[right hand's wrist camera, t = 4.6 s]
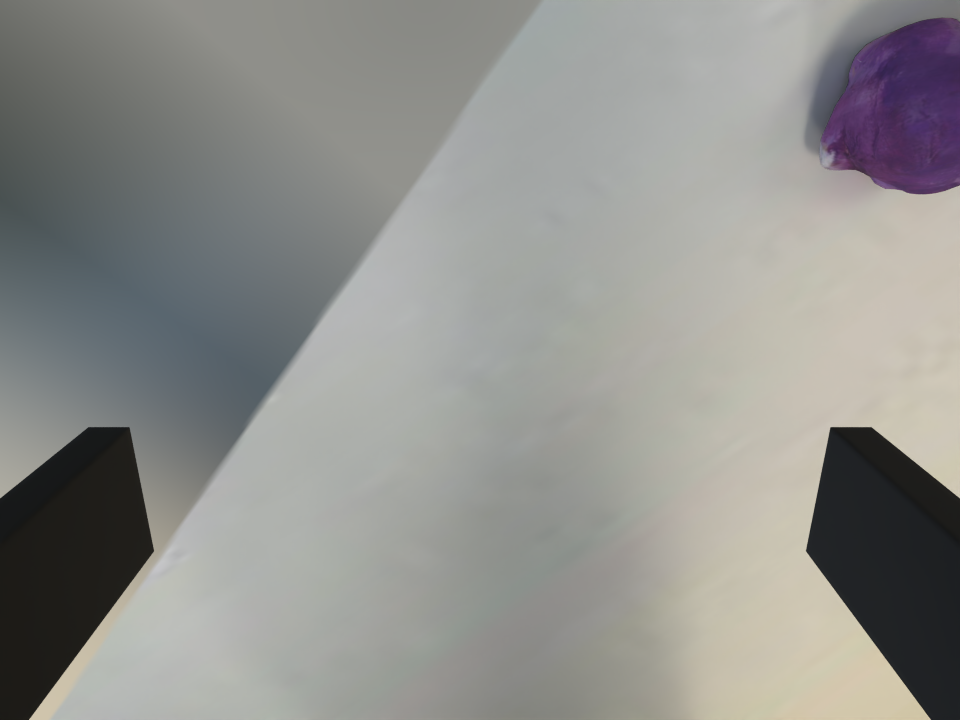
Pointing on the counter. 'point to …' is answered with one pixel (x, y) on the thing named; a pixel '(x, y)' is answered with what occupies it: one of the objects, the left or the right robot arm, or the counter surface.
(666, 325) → the counter surface
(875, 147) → the figurine
